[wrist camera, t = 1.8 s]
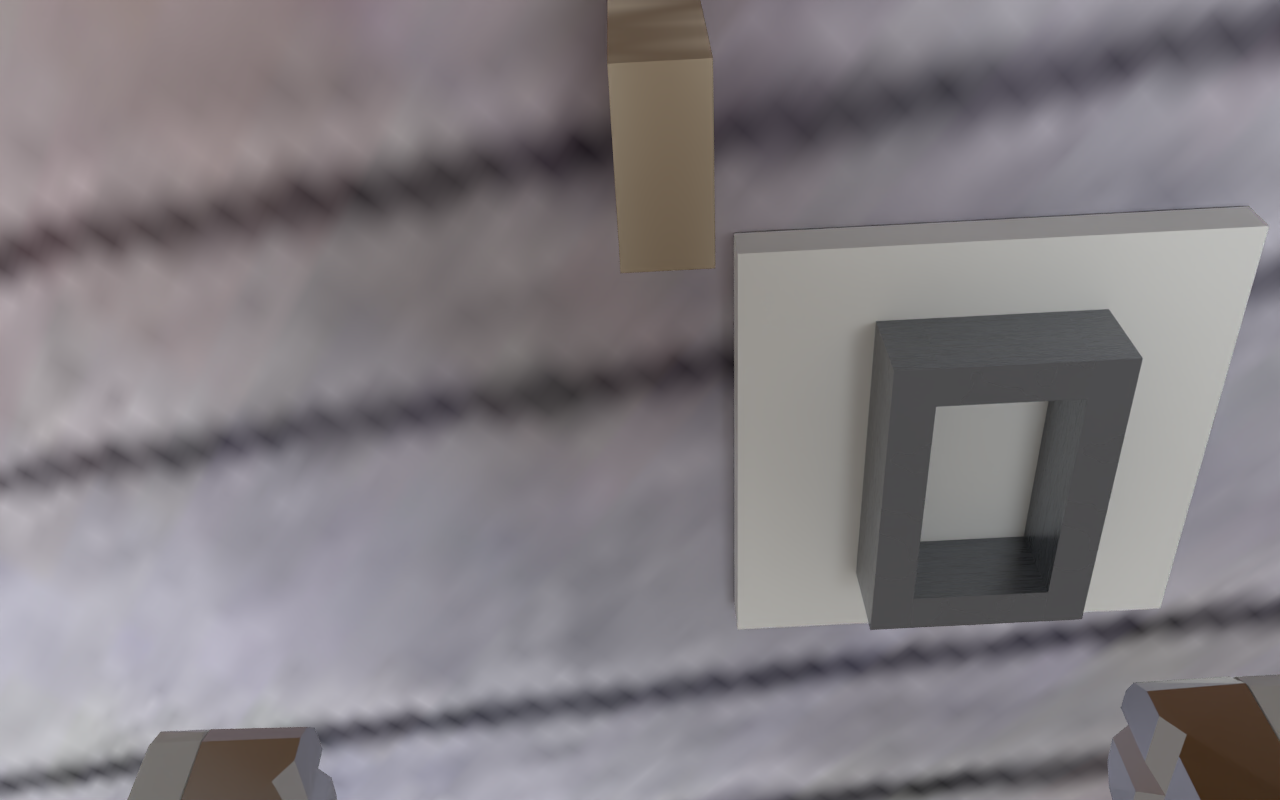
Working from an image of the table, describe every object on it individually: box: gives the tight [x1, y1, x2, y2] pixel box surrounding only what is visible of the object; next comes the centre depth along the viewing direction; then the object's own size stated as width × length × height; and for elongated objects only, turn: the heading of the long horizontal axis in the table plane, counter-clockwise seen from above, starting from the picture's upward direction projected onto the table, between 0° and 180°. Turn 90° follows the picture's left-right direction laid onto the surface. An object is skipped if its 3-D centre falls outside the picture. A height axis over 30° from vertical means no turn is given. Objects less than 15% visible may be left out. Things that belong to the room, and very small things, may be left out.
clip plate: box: [734, 206, 1269, 629], centre depth 36 cm, size 14×14×1 cm
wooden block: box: [607, 0, 715, 273], centre depth 26 cm, size 2×4×7 cm, turn 3°
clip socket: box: [856, 309, 1143, 630], centre depth 34 cm, size 6×9×2 cm
